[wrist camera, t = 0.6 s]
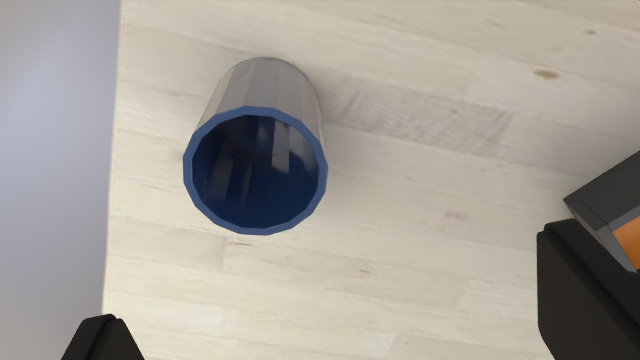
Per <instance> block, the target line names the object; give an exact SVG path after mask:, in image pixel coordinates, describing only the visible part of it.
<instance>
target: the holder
mask: <svg viewBox="0 0 640 360" xmlns="http://www.w3.org/2000/svg"><path fill="white" fill-rule="evenodd" d="M563 200H564V202H565V203H566V205H567V206H568V208H569V209H570V211H571V212H572V214H573V215H574V217H575V218H576V220H577V221H579V222H580V223H581V224H582V225H583V227H584V228H585V229H586V230H587V231H588V232H589V233H590V234H591V235H592V236H593V237H594V238H595V239H596V240H597V241H598V242H599V243H600V244H601V245H602V246H603V247H604V248H605V249H606V250H607V251H608V252H609V253H610V254H611V255H612V256H613V257H614V258H615V259H616V260H617V261H618V262H619V263H620V264H621V265H622V266H623V267H624V268H625V269H626V270H627V271H633V272H636V273H638V274H639V275H640V151H639V152H637V153H636V154H634V155H632V156H631V157H629V158H628V159H626V160H624V161H623V162H621V163H620V164H618V165H617V166H615V167H613V168H612V169H610V170H609V171H607V172H605V173H604V174H602V175H601V176H599V177H598V178H596V179H594V180H593V181H591V182H590V183H588V184H587V185H585V186H583V187H582V188H580V189H579V190H577V191H575V192H574V193H572V194H571V195H569V196H568V197H566V198H564V199H563Z"/></svg>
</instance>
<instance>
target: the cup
mask: <svg viewBox="0 0 640 360" xmlns="http://www.w3.org/2000/svg"><path fill="white" fill-rule="evenodd" d="M327 175H328V162H327V155H326V148H325V141H324V135H323V128H322V121H321V114H320V107H319V104H318V100H317V96H316V93H315V90H314V88H313V86H312V84H311V83H310V81H309V80H308V79H307V77H306V76H305V75H304V74H303V73H302V72H301V71H300V70H298V69H297V68H296V67H294V66H293V65H291V64H289V63H287V62H285V61H282V60H278V59H274V58H254V59H250V60H246V61H244V62H241V63H239V64H238V65H236V66H234V67H233V68H232V69H230V70H229V71H228V72H227V73H226V74H225V75H224V76H223V77H222V78H221V80H220V81H219V83H218V85H217V87H216V89H215V91H214V93H213V95H212V97H211V99H210V101H209V103H208V105H207V107H206V109H205V111H204V113H203V115H202V117H201V119H200V121H199V123H198V125H197V127H196V129H195V131H194V133H193V135H192V137H191V140H190V142H189V144H188V146H187V149H186V151H185V153H184V155H183V181H184V185H185V187H186V189H187V191H188V193H189V195H190V197H191V199H192V201H193V203H194V205H195V206H196V208H198V209H199V210H200V211H201V212H202V213H203V214H204V215H205V216H206V217H208V218H209V219H210V220H211V221H212V222H213V223H214V224H216V225H218V226H221V227H223V228H226V229H228V230H231V231H233V232H236V233H238V234H246V235H263V236H266V235H271V234H274V233H278V232H281V231H285V230H289V229H291V228H293V227H295V226H296V225H297V224H299V223H300V222H301V221H303V220H304V219H306V218H307V217H308V216H310V215H311V214H312V213H313V212H314V210H315V208H316V207H317V205H318V203H319V202H320V200H321V199H322V197H323V195H324V194H325V191H326V183H327Z"/></svg>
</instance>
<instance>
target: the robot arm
mask: <svg viewBox="0 0 640 360" xmlns="http://www.w3.org/2000/svg"><path fill="white" fill-rule="evenodd" d="M537 297H538V327H539V331H540V334H541V336H542V339H543V341H544V342H545V344H546V346H547V347H548V349H549V350H550V352H551V354H552V355H553V357H554V359H555V360H640V275H639V274H638V273H636V272H633V271H627V270H626V269H625V268H624V267H623V266H622V265H621V264H620V263H619V262H618V261H617V260H616V259H615V258H614V257H613V256H612V255H611V254H610V253H609V252H608V251H607V250H606V249H605V248H604V247H603V246H602V245H601V244H600V243H599V242H598V241H597V240H596V239H595V238H594V237H593V236H592V235H591V234H590V233H589V232H588V231H587V230H586V229H585V228H584V227H583V225H582V224H581V223H580V222H579V221H577V220H576V219H574V218H571V219H566V220H561V221H556V222H551V223H547V224H545V226H544V231H541V232H538V233H537ZM61 360H145V359H144V357H143V356H142V354H141V352H140V350H139V348H138V346H137V344H136V343H135V341H134V339H133V337H132V335H131V333H130V331H129V330H128V328H127V326H126V324H125V322H124V321H123V320H122V319H119V318H118V319H117V318H116V317H115V316H114V315H113V314H106V315H101V316H96V317H91V318H86V319H85V320H83V321H82V322H81V324H80V326H79V327H78V329H77V331H76V333H75V335H74V337H73V338H72V341H71V342H70V344H69V346H68V347H67V349H66V351H65V353H64V355H63V357H62V359H61Z"/></svg>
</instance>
